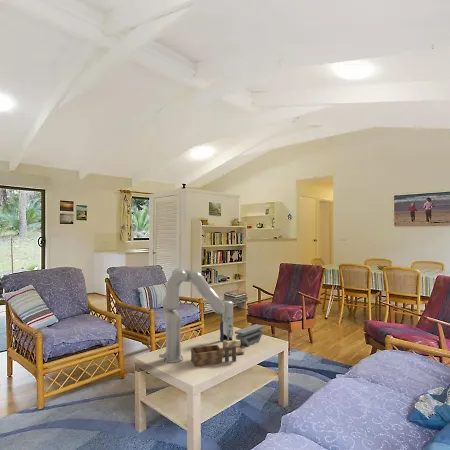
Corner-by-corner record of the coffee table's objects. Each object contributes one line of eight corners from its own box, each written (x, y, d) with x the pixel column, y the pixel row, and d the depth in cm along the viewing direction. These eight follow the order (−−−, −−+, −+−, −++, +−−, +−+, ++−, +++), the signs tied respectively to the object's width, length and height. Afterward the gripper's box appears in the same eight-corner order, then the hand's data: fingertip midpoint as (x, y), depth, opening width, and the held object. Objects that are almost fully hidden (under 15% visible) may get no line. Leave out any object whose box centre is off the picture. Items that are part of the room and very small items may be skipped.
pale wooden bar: (224, 347, 219) (224, 341, 219) (223, 346, 222) (223, 340, 222) (240, 346, 222) (240, 339, 222) (239, 344, 225) (239, 338, 225)
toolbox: (195, 366, 213) (194, 351, 213) (191, 360, 224) (191, 345, 225) (236, 361, 221) (236, 346, 221) (230, 355, 233) (230, 340, 233)
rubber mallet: (219, 343, 256) (218, 304, 257) (213, 341, 262) (212, 302, 263) (231, 340, 265) (231, 301, 265) (225, 338, 270) (224, 300, 271)
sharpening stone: (255, 338, 269) (255, 324, 269) (263, 340, 264) (263, 326, 264) (234, 346, 251) (234, 331, 251) (243, 348, 245) (242, 333, 246)
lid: (219, 357, 229) (219, 345, 229) (214, 351, 240) (214, 340, 240) (244, 354, 234) (244, 342, 234) (238, 349, 245) (238, 337, 245)
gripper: (236, 321, 232) (236, 346, 232) (229, 315, 249) (229, 339, 248) (226, 322, 230) (226, 347, 230) (219, 316, 247) (219, 340, 246)
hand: (227, 343), depth 239 cm, fingers open, 9 cm apart
